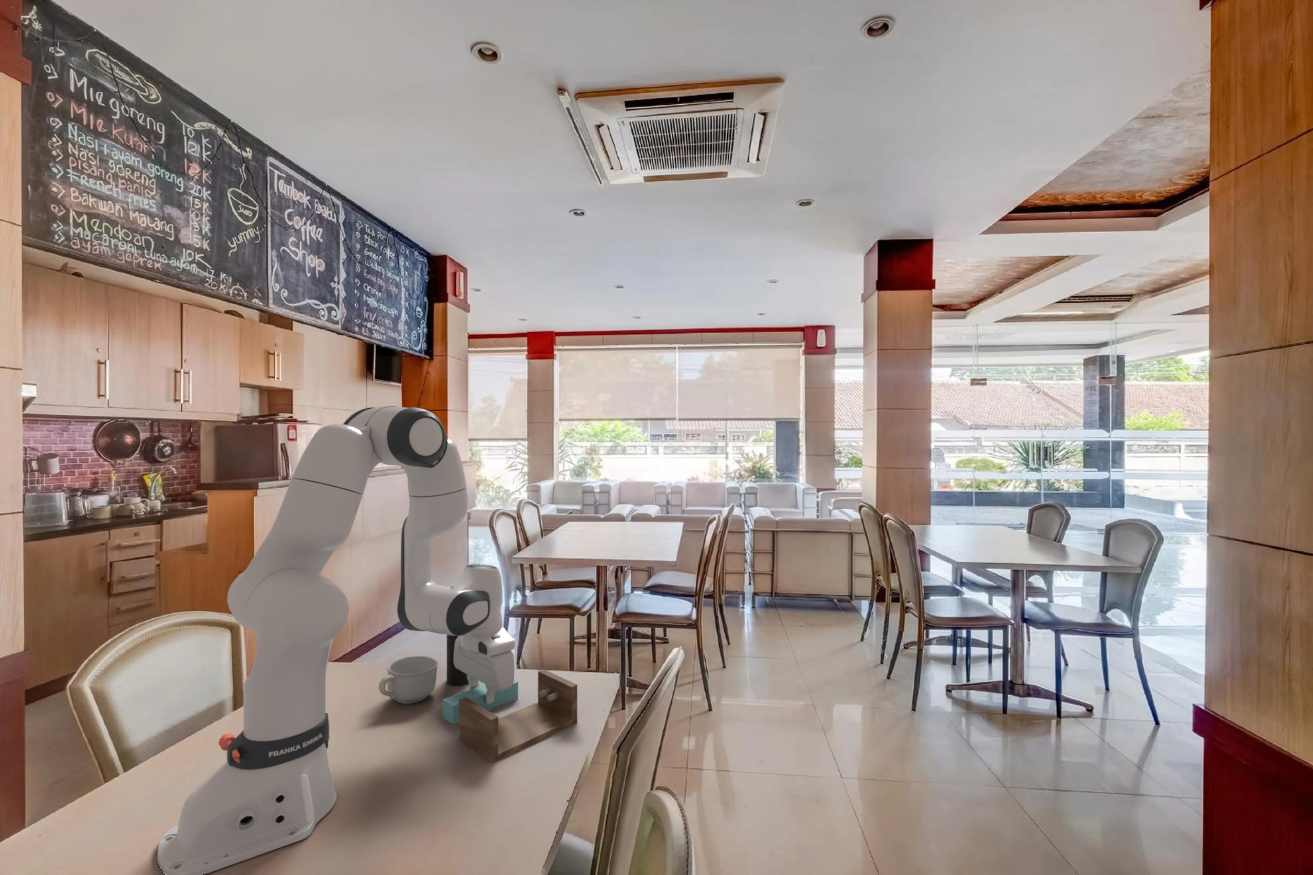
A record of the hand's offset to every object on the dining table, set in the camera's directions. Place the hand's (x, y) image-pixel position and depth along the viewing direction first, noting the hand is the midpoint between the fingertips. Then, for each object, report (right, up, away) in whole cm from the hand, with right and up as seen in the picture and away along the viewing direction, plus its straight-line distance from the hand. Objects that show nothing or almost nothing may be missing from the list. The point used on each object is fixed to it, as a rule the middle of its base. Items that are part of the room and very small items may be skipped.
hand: (482, 697), depth 126 cm
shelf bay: (+11, -2, -10) cm, 15 cm away
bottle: (-10, -3, +14) cm, 18 cm away
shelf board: (0, -2, 0) cm, 2 cm away
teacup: (-19, -2, +4) cm, 19 cm away
